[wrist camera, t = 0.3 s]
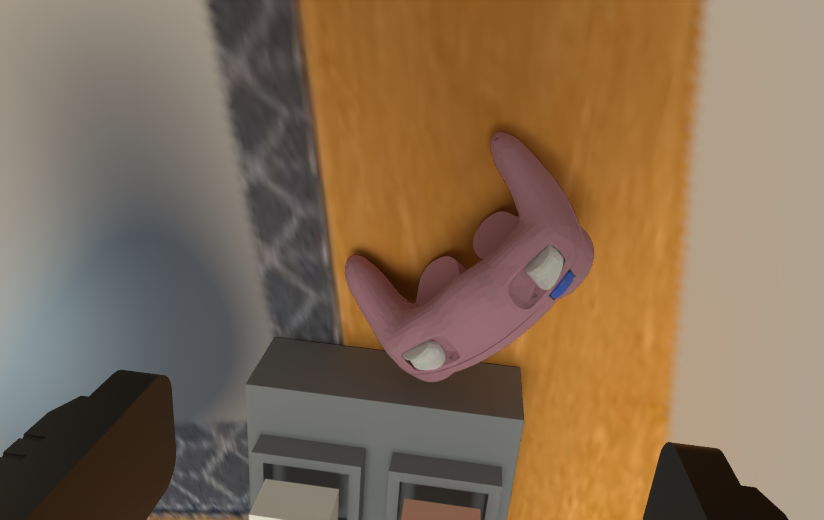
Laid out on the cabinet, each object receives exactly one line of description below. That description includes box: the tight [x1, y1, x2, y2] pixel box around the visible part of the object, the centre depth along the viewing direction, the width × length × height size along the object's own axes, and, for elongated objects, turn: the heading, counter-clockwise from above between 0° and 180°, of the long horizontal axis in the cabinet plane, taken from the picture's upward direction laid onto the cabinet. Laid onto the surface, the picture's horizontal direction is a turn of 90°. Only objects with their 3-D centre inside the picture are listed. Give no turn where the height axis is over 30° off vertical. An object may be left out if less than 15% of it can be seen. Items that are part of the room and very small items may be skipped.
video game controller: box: [345, 132, 594, 382], centre depth 26 cm, size 10×5×7 cm, turn 133°
